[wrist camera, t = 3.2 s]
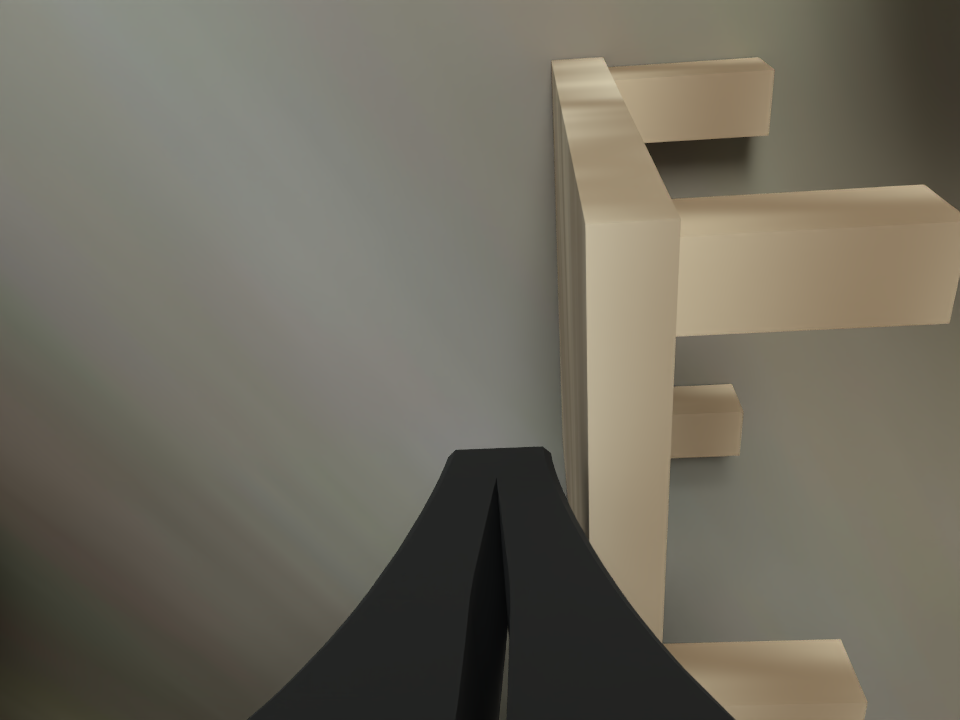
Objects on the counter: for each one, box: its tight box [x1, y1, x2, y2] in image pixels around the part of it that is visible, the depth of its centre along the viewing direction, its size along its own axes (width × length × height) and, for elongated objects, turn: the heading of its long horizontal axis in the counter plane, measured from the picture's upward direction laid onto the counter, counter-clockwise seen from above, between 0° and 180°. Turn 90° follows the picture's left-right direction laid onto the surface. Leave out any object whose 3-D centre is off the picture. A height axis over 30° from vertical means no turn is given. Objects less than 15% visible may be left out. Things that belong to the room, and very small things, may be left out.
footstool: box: [551, 57, 960, 720], centre depth 15 cm, size 4×9×9 cm, turn 4°
